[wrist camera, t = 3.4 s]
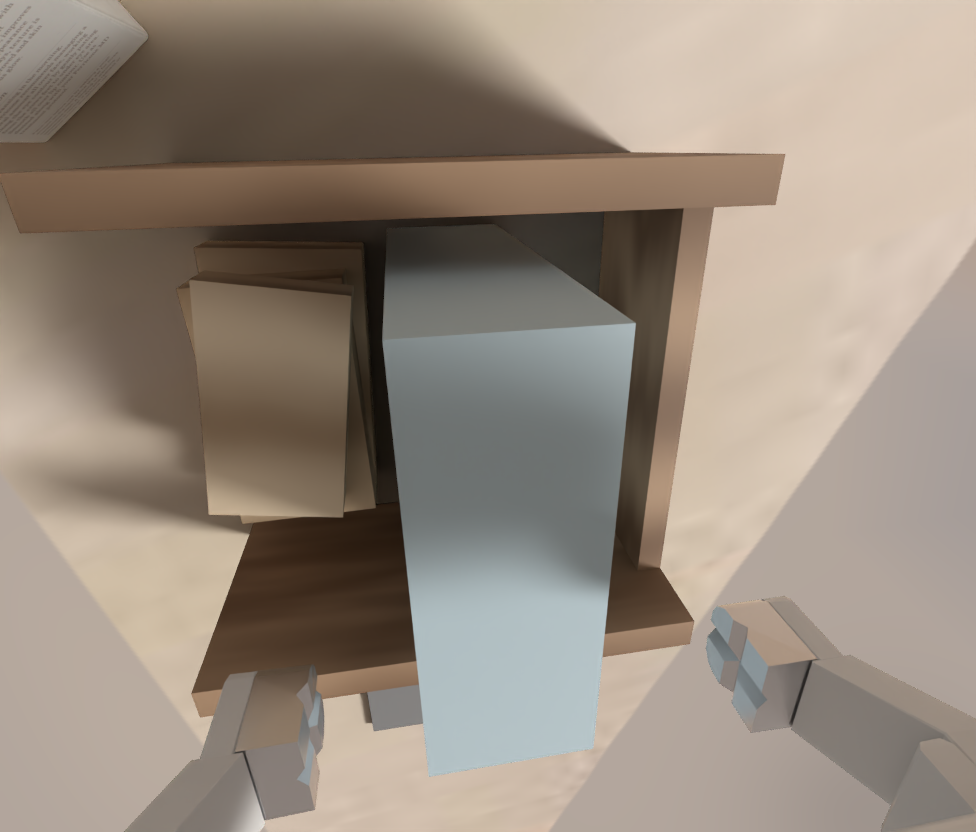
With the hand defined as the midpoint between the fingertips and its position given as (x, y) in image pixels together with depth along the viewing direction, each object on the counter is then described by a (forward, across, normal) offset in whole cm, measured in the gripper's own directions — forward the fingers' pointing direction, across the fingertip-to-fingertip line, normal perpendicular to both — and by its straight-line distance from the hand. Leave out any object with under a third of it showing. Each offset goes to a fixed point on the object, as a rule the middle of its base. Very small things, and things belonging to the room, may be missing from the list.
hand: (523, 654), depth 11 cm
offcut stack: (+17, +6, -1) cm, 18 cm away
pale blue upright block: (+16, 0, -1) cm, 16 cm away
